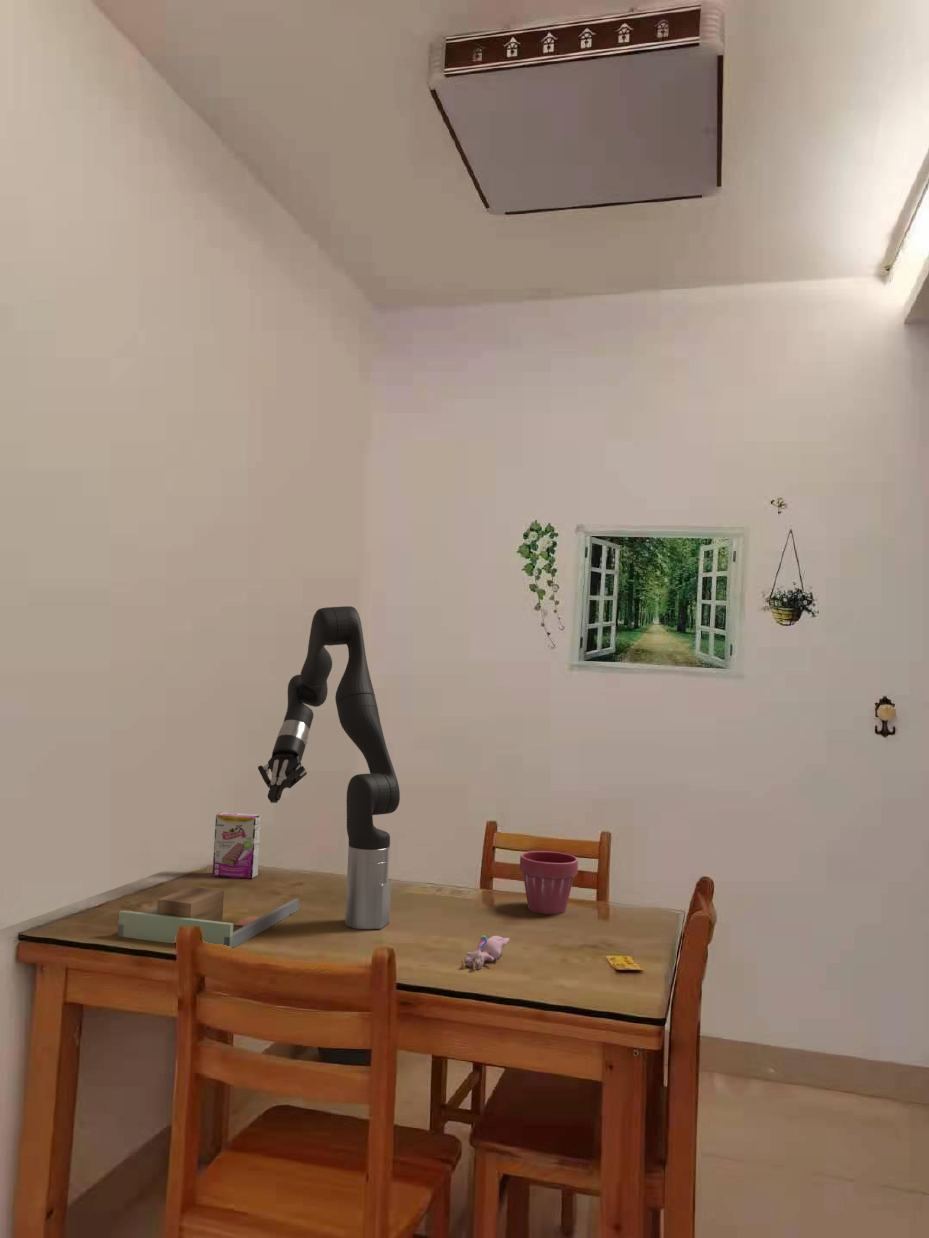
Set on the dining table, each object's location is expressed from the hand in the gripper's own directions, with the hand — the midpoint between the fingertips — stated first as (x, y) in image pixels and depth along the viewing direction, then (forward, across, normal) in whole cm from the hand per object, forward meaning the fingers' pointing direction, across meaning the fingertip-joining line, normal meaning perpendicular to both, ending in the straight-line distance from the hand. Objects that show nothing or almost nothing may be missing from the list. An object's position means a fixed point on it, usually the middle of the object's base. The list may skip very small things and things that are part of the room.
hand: (272, 800), depth 228 cm
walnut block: (+38, -4, -10) cm, 39 cm away
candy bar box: (+6, -20, +29) cm, 36 cm away
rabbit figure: (+38, +59, -4) cm, 70 cm away
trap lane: (+32, -3, -3) cm, 33 cm away
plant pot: (+10, +64, +31) cm, 72 cm away
